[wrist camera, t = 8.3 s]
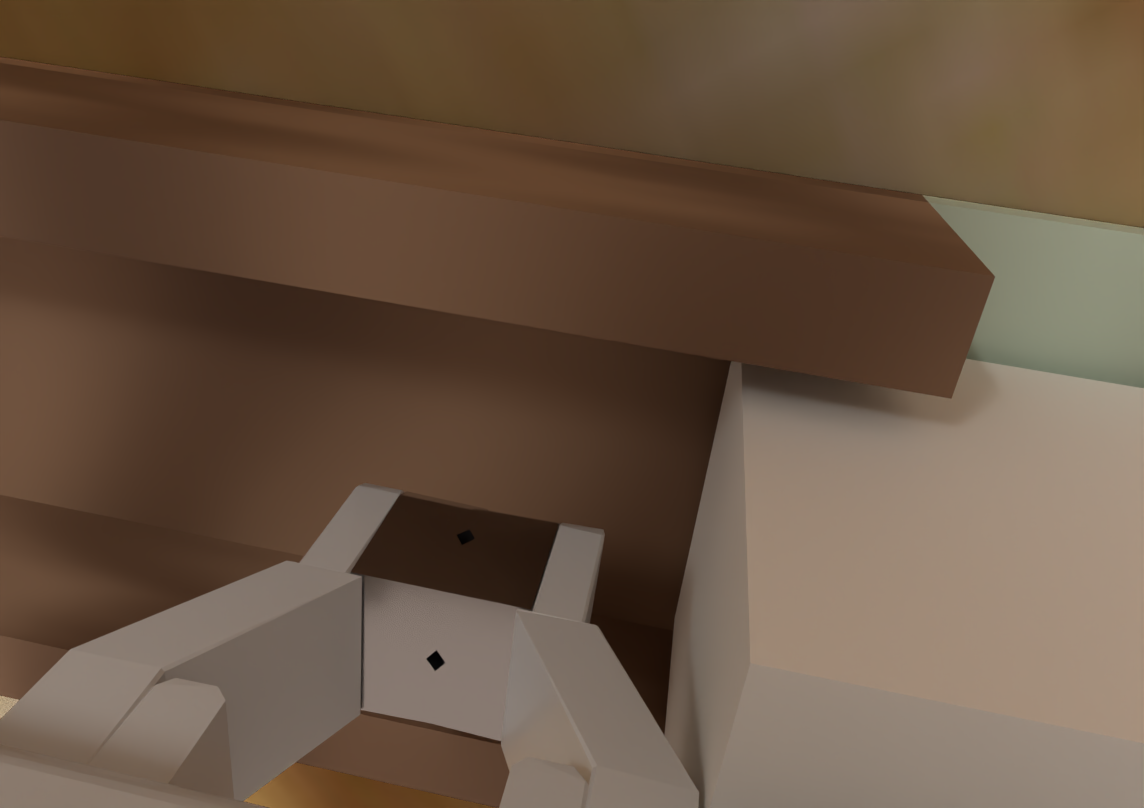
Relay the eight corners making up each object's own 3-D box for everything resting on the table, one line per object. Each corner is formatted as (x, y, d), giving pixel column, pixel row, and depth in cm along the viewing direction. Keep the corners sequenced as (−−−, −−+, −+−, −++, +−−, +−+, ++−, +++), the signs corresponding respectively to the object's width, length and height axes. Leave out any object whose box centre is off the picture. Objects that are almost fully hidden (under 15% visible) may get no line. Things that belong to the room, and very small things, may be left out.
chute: (-260, 479, 16) (-475, 587, 13) (-453, -11, 12) (-816, -9, 9) (1287, 799, 13) (1439, 1021, 10) (1654, 305, 10) (2045, 442, 7)
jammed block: (674, 617, 13) (634, 1069, 7) (740, 320, 11) (750, 662, 5) (1162, 716, 12) (1500, 1288, 7) (1342, 421, 10) (2040, 926, 5)
